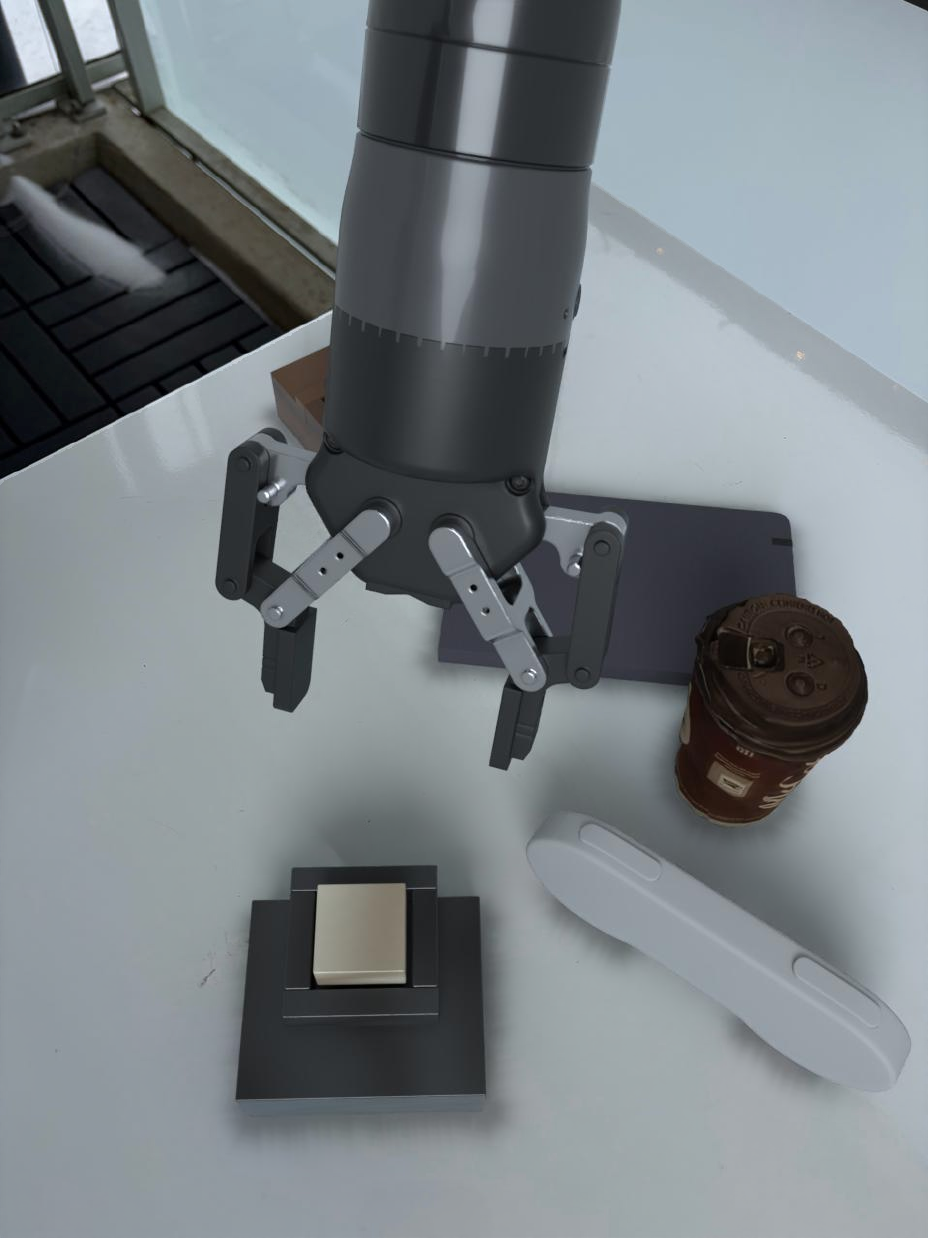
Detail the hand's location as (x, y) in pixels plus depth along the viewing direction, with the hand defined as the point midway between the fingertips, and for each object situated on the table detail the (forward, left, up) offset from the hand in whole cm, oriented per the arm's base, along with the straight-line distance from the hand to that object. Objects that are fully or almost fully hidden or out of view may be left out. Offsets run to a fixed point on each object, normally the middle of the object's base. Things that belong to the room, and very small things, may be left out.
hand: (396, 729), depth 42 cm
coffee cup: (+18, -5, -19) cm, 26 cm away
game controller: (+9, -12, -19) cm, 24 cm away
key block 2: (-5, -4, -18) cm, 19 cm away
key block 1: (+17, +28, -18) cm, 38 cm away
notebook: (+21, +8, -19) cm, 30 cm away
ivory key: (-4, -2, -13) cm, 14 cm away
